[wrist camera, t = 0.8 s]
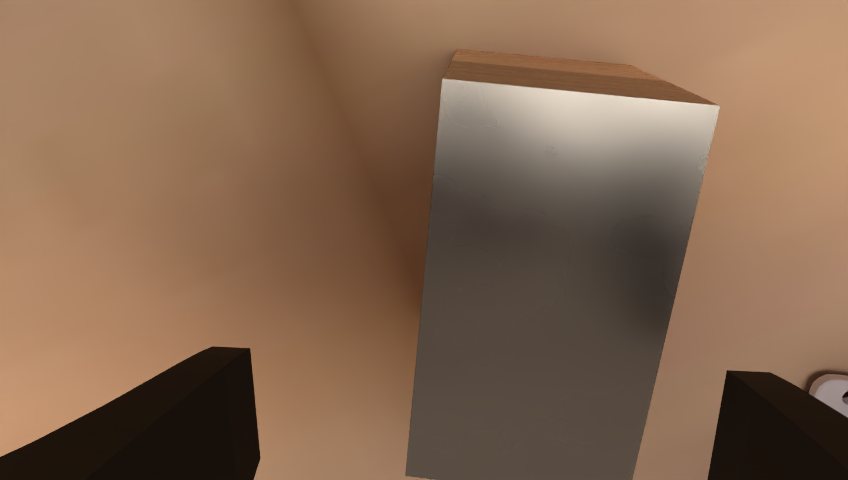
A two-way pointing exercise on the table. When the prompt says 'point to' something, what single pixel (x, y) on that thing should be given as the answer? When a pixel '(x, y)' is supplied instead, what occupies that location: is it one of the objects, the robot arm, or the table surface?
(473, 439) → the housing
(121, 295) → the table surface
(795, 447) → the robot arm
